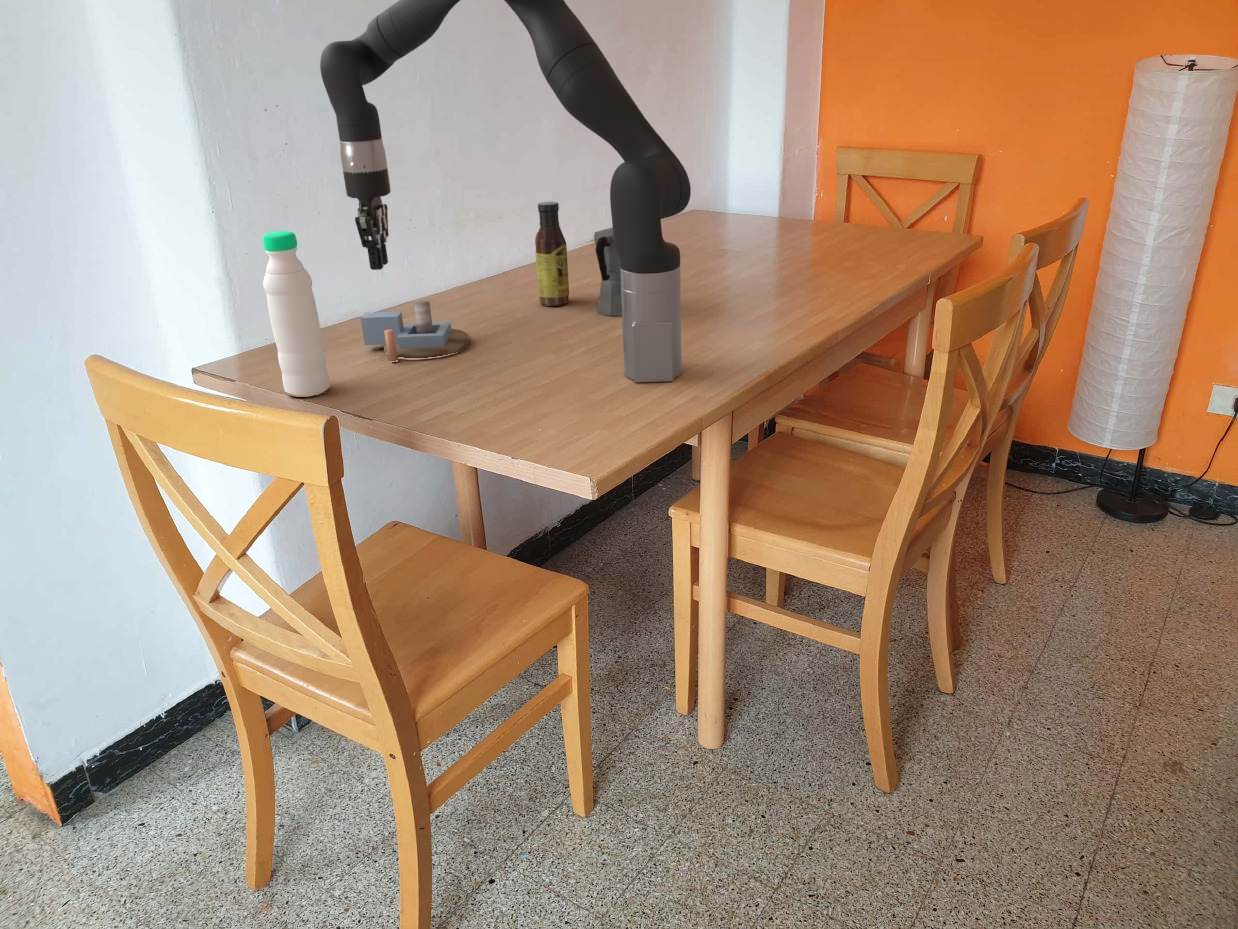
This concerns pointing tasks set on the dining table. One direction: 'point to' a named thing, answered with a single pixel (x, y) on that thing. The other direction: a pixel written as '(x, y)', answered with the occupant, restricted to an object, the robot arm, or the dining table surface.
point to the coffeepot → (608, 274)
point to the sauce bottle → (551, 257)
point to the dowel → (391, 345)
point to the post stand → (424, 326)
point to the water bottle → (294, 317)
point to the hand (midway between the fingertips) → (379, 266)
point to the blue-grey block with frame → (402, 331)
